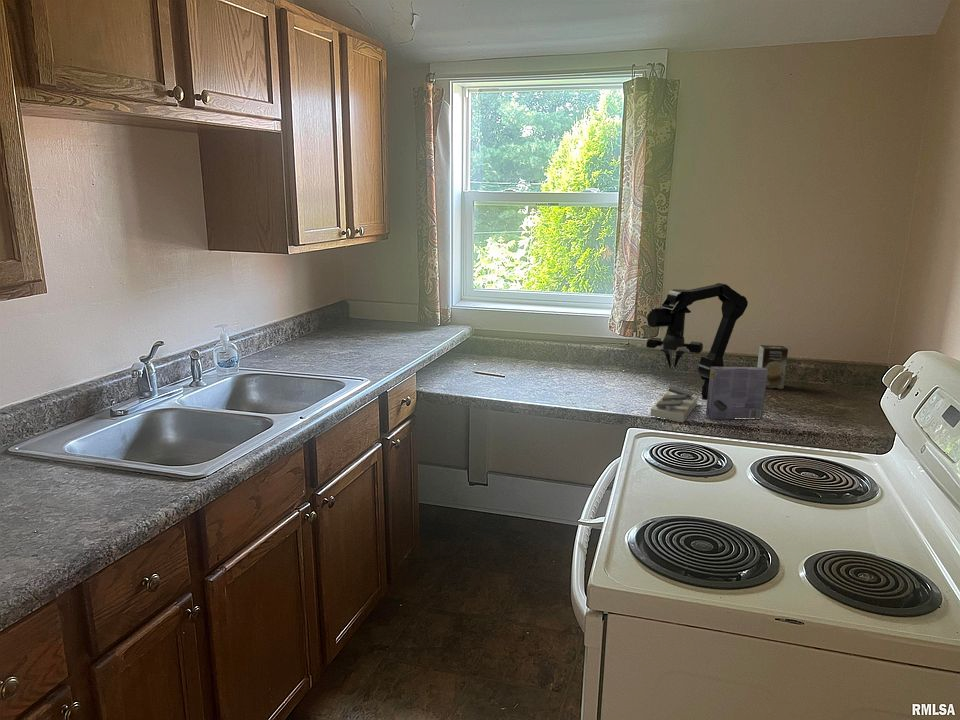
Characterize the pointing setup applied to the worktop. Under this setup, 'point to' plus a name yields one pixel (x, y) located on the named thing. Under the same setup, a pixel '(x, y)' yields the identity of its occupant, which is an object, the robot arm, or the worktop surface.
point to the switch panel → (675, 409)
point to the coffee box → (773, 364)
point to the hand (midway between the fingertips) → (672, 368)
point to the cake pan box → (736, 392)
